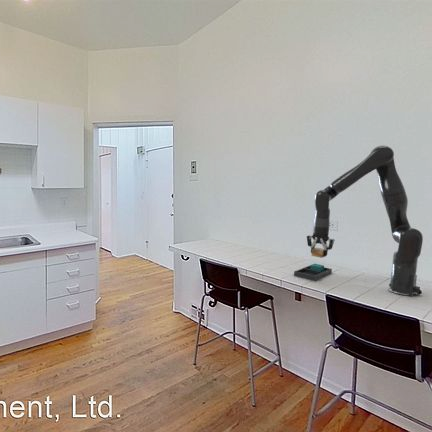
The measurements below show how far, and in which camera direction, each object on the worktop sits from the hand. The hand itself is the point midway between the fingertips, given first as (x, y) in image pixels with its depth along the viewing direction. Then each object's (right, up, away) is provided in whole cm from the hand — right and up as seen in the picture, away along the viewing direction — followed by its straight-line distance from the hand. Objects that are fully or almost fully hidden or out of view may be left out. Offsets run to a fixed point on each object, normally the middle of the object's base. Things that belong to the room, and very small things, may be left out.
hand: (318, 255), depth 170 cm
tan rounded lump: (0, 0, 0) cm, 1 cm away
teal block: (+7, -12, +13) cm, 19 cm away
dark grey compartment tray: (+2, -13, +10) cm, 16 cm away
